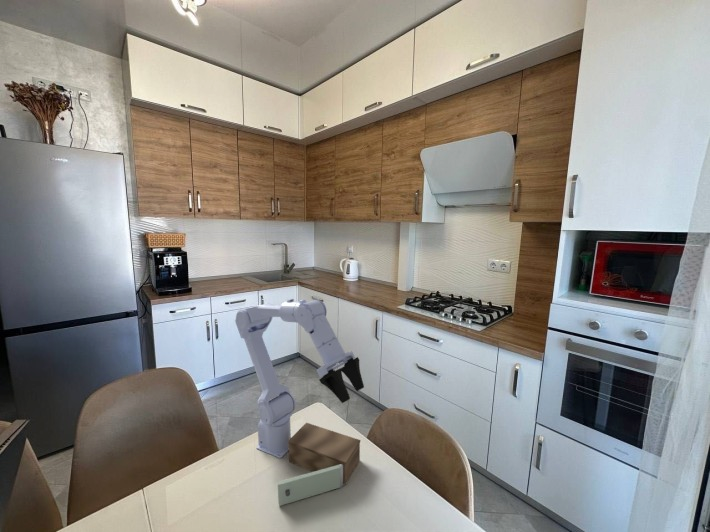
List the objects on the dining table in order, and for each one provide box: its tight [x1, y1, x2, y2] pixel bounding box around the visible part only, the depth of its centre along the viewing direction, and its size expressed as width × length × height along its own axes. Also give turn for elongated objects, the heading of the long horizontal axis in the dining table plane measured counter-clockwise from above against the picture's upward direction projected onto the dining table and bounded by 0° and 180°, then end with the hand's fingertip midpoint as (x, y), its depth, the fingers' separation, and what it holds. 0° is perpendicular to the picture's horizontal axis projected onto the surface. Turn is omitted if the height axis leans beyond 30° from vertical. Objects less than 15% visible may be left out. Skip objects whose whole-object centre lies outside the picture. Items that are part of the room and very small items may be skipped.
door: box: [277, 464, 344, 507], centre depth 72 cm, size 16×2×6 cm, turn 110°
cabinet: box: [288, 422, 361, 486], centre depth 83 cm, size 18×9×6 cm, turn 65°
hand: (353, 394), depth 70 cm, fingers open, 7 cm apart
